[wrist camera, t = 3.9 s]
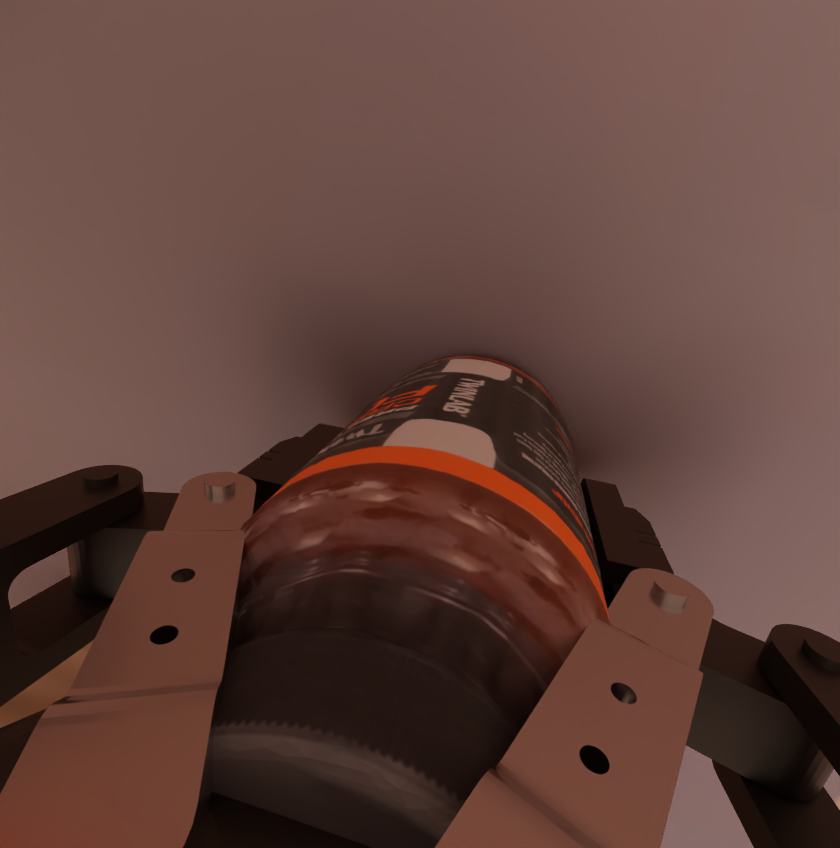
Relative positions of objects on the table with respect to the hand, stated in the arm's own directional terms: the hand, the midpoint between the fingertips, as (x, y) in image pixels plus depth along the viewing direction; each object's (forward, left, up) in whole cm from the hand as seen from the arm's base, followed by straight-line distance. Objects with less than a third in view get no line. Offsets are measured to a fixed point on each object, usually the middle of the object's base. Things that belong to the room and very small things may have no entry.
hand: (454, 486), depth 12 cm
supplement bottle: (0, 0, -3) cm, 3 cm away
